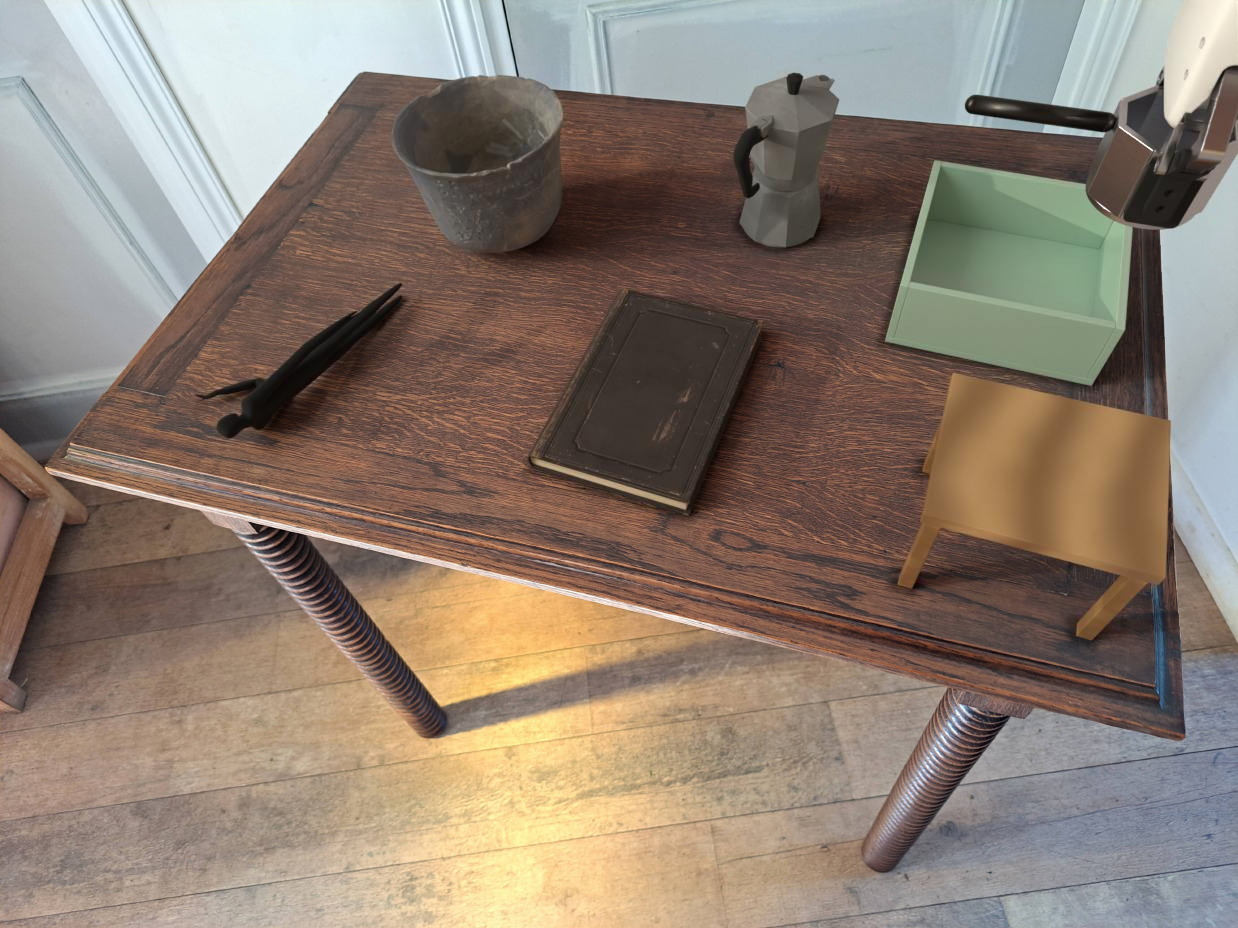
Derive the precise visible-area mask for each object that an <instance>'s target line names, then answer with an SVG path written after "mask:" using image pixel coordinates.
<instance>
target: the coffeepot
mask: <svg viewBox="0 0 1238 928" xmlns="http://www.w3.org/2000/svg"><path fill="white" fill-rule="evenodd" d="M835 81H836V80H835V79H834V78H830V77H829V76H828V75H825V74H819V75H818V74H815V75H813V76H809V77H806V78H804V75H803V74H801V73H800V72H791V73H788V74H787V75H786V76H784V77H781V78H777V79H774V80H771V81H769V82H766V83H763V84H759V85H757V86H754V88H753V90H752V92H751V94H750V96H749V98H748V100H747V102H746V104H745V107H744V109H745V116H746V117H745V118H746V126H747V127H746V128H747V129H745V130H744V131H742V133H741V135H740V137H739V138H738V141H737V143H736V145H735V147H734V150H733V155H732V158H733V163H734V167H735V170H736V174H737V178H738V181H739V185H740V188H741V191H742V195H743V197H744V198H745V199H744V204H743V207H742V211H741V215H740V218H739V219H740V220H739V223H738V224H739V225H740V227H741V228H742V229H743V231H744V232H745V234H746V235H747V236H748V237H749V238H750V239H752V240H753V241H754V242H755V243H757V244H760V245H763V246H765V247H771V248H791V247H795V246H799V245H801V244H803V243H805V242H807V241H808V240H810V239H812V238H814V236H815V234H816V231H817V229H818V225H819V223H820V220H821V218H822V215H821V195H820V178H819V172H818V168H819V165H820V163H821V160H822V158H823V154H824V150H825V147H826V144H827V141H828V138H829V135H830V132H831V129H832V125H833V122H834V119H835V116H836V112H837V109H838V106H839V103H840V98H839V97H838V96H836V94H835V93H833V92H832V91H831V88H832V86H833V84H834V83H835ZM751 163H752V164H753V165H754V169H753V171H751Z"/></svg>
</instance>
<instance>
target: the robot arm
mask: <svg viewBox="0 0 1238 928" xmlns="http://www.w3.org/2000/svg"><path fill="white" fill-rule="evenodd" d="M1166 41H1167V42H1166V47H1165V53H1164V65H1163V66H1162V69H1161V70H1160V72H1159V73H1158V76H1157V79H1156V82H1155V86H1156V87H1157V86H1163V87H1164V116H1165V119H1166V120H1167V122H1168V123H1169V125H1170V127H1169V130H1168V132H1167V135H1166V137H1165V140H1164V143H1163V145H1162V148H1161V150H1160V153H1159V155H1158V158H1157V161H1156V163H1155V164H1153V163H1149V164H1148V166H1147V167H1146V169H1145V171H1144V173H1143V175H1142V177H1141V179H1140V181H1139V183H1138V185H1137V187H1136V189H1135V191H1134V192H1133V194H1132V196H1131V198H1130V200H1129V202H1128V204H1127V206H1126V208H1125V210H1124V212H1123V219H1124V221H1126V222H1131V223H1137V224H1143V225H1150V226H1156V227H1162V228H1168V229H1167V230H1171V229H1176V228H1178V227H1179V226H1178V225H1179V224H1180V222H1181V220H1182V218H1183V217H1184V215H1185V213H1186V212H1187V210H1188V208H1189V207H1190V205H1191V203H1192V202H1193V200H1194V198H1195V197H1196V195H1197V193H1198V192H1199V190H1200V188H1201V187H1202V185H1203V183H1204V182H1205V181H1206V180H1207V179H1208V177H1209V175H1210V173H1211V171H1212V170H1214V169H1215V167H1216V166H1217V165H1218V164H1220V163H1221V161H1222V160H1223V158H1224V156H1225V153H1226V151H1227V147H1228V144H1229V141H1230V137H1231V134H1232V131H1233V128H1234V124H1235V121H1236V134H1237V135H1238V0H1183V1H1182V2H1181V5H1180V8H1179V10H1178V12H1177V15H1176V17H1175V20H1174V22H1173V25H1172V26H1171V29H1170V32H1169V35H1168V39H1167V40H1166ZM1197 108H1198V109H1205V110H1207V111H1206V114H1205V117H1204V121H1203V120H1196V119H1188V118H1186V115H1187V113H1192V112H1193V111H1194V110H1195V109H1197ZM1183 131H1189V132H1196V133H1200V134H1199V136H1198V138H1197V140H1196V142H1195V143H1194V144H1193V145H1192V147H1191V149H1186V148H1183V149H1181V150H1180V151H1178V152H1176V153H1175V151H1176V148H1177V146H1178V143H1179V141H1180V138H1181V136H1182V133H1183ZM1177 226H1178V227H1177Z"/></svg>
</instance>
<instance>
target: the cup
mask: <svg viewBox="0 0 1238 928" xmlns="http://www.w3.org/2000/svg"><path fill="white" fill-rule="evenodd" d="M563 123H564V110H563V105H562V102H561V100H560V99H559V97H558V96H557V94H556V92H555V91H554V90H552V89H551V88H550V87H549V86H548V85H547V84H544V83H542V82H540V81H538V80H536V79H533V78H530V77H528V78H525V77H523V76H514V75H504V74H495V75H491V76H489V75H483V74H478V75H477V76H475V75H471V76H464V77H459V78H456V79H455V78H454V79H451V80H448V81H446V82H443V83H441V84H439V85H438V86H437V87H436V88H435V89H433V90H432V91H430V92H429V93H426V94H419V95H418V96H416V97H415V98H414V99H413V100H412V101H411V102H409V103H406V105H404V106H403V107H402V108H401V109H400V110H399V111H398V113H397V114H396V117H395V119H394V121H393V124H392V128H391V134H390V141H391V146H392V149H393V151H394V152H395V154H396V155H397V157H398V158H399V159H400V160H401V162H402V163H403V164H404V166H405V168H406V169H407V171H408V172H409V174H410V176H411V178H412V180H413V182H414V184H415V185H416V187H417V189H418V191H419V194H420V196H421V198H422V200H423V202H424V204H425V206H426V208H427V209H428V211H429V213H430V214H431V217H432V218H433V220H434V222H435V224H436V225H437V227H438V229H439V230H440V232H441V233H442V234H443V236H444V237H445V238H446V239H447V240H448V241H450V242H451V243H452V244H453V245H455V246H457V247H459V248H461V249H465V250H468V251H471V252H475V253H476V252H477V253H485V254H486V253H488V254H493V253H508V252H513V251H517V250H519V249H523V248H525V247H527V246H529V245H531V244H533V243H535V242H538V240H539V239H541V238H542V237H544V236H545V234H547V233H548V232H549V231H550V229H551V227H552V226H553V224H554V222H555V220H556V218H557V216H558V214H559V212H560V209H561V205H562V199H563V180H562V179H563V178H562V162H561V161H562V159H561V146H560V145H561V144H560V143H561V133H562V128H563Z"/></svg>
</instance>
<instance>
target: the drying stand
mask: <svg viewBox="0 0 1238 928" xmlns="http://www.w3.org/2000/svg"><path fill="white" fill-rule="evenodd" d="M1171 423H1172V421H1171V420H1170V419H1165V418H1162V417H1156V416H1151V415H1147V414H1143V413H1138V412H1133V411H1129V410H1125V409H1120V408H1116V407H1111V406H1106V405H1102V404H1096V403H1093V402H1088V401H1084V400H1079V399H1074V398H1069V397H1065V396H1062V395H1058V394H1057V395H1056V394H1053V393H1048V392H1043V391H1038V390H1033V389H1029V388H1025V387H1021V386H1014V385H1010V384H1006V383H1001V382H997V381H993V380H988V379H983V378H979V377H974V376H970V375H966V374H961V373H958V372H957V373H956V372H953V373H952V374H951V377H950V380H949V383H948V387H947V392H946V398H945V402H944V407H943V411H942V416H941V418H940V421H939V424H938V427H937V429H936V432H935V434H934V437H933V439H932V442H931V443H930V447H929V449H928V451H927V454H926V457H925V459H924V461H923V462H924V463H923V466H922V473H924V474H929V477H928V483H927V487H926V491H925V498H924V501H923V506H922V509H921V510H922V511H921V515H920V520H919V522H920V523H921V524H920V526H919V529H918V532H917V533H916V536H915V538H914V540H913V543H912V544H911V547H910V550H909V552H908V554H907V557H906V559H905V561H904V563H903V565H902V567H901V570H900V573H899V577H898V581H897V585H898V586H900V587H903V588H907V589H913V587H914V585H915V583H916V582H917V579H918V578H919V575H920V573H921V571H922V569H923V567H924V565H925V562H926V560H927V558H928V556H929V554H930V552H931V549H932V548H933V546H934V543H935V541H936V539H937V537H938V535H939V533H940V531H941V529H945V530H948V531H952V532H956V533H960V534H963V535H966V536H970V537H974V538H979V539H982V540H986V541H990V542H994V543H997V544H1001V545H1005V546H1008V547H1012V548H1016V549H1020V550H1024V551H1027V552H1030V553H1031V552H1032V553H1035V554H1039V555H1042V556H1045V557H1050V558H1053V559H1057V560H1061V561H1065V562H1069V563H1072V564H1077V565H1079V566H1084V567H1088V568H1091V569H1095V570H1098V571H1099V570H1100V571H1103V572H1106V573H1110V574H1114V575H1118V577H1117V579H1115V580H1114V582H1113V583H1112V584H1111V585H1110V586H1109V587H1108V588H1107V589H1106V591H1105V592H1104V593H1103V594H1102V595H1101V596H1100V597H1099V599H1098V600H1096V602H1095V603H1094V604H1093V605H1092V606H1091V607H1090V608H1089V610H1087V612H1086V613H1085V614H1084V615H1083V616H1082V617H1081V618H1080V619H1079V621H1078V622H1077V623H1076V632H1075V636H1076V637H1079V638H1082V639H1085V640H1089V641H1093V640H1094V639H1095V638H1096V637H1097V636H1098V635H1099V634H1100V633H1101V632H1102V631H1103V630H1104V629H1105V628H1106V627H1107V625H1109V624H1110V623H1111V622H1112V620H1113V619H1114V618H1116V616H1117V615H1119V613H1120V612H1121V611H1122V610H1123V609H1124V608H1125V607H1126V606H1127V605H1128V604H1129V603H1130V602H1131V601H1132V600H1133V599H1134V598H1135V597H1136V596H1137V595H1138V594H1139V593H1140V592H1141V591H1142V589H1144V588H1145V587H1146V586H1147V585H1148V584H1152V585H1155V586H1159V585H1160V584H1162V582H1164V580H1165V579H1166V578H1167V553H1168V528H1169V527H1168V525H1169V524H1168V523H1169V491H1170V463H1171V460H1170V458H1171V430H1172V428H1171V427H1172V424H1171Z"/></svg>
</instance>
